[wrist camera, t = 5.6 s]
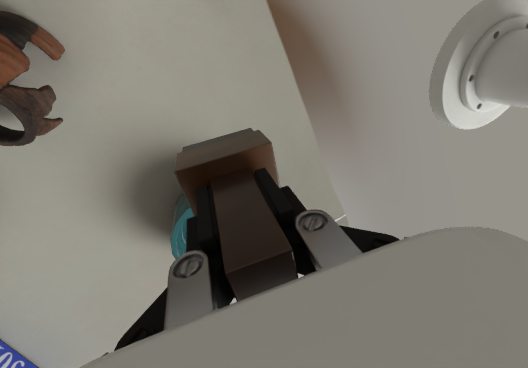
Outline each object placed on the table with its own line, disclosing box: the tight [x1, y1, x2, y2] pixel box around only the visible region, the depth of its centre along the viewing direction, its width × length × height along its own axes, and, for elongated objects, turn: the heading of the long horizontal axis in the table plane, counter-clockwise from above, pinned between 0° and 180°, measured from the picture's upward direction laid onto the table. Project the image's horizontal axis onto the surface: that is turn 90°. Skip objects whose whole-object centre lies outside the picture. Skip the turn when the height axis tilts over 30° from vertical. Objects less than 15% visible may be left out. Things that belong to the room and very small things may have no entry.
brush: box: [174, 128, 298, 302], centre depth 12 cm, size 5×5×10 cm
